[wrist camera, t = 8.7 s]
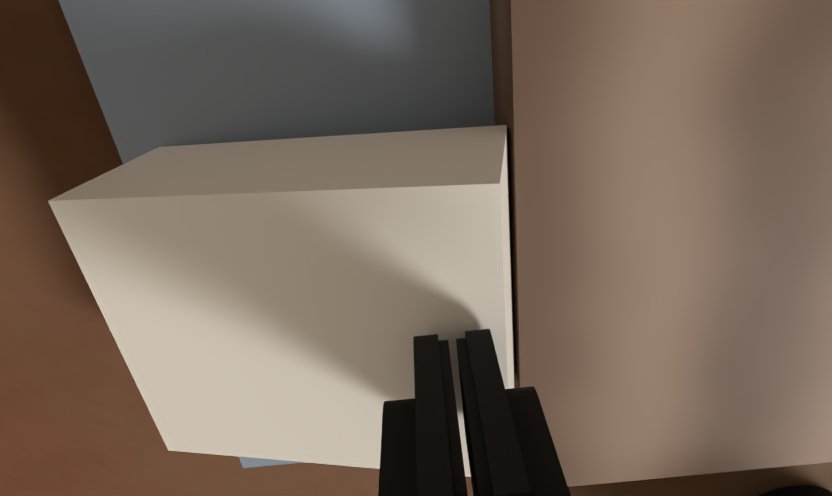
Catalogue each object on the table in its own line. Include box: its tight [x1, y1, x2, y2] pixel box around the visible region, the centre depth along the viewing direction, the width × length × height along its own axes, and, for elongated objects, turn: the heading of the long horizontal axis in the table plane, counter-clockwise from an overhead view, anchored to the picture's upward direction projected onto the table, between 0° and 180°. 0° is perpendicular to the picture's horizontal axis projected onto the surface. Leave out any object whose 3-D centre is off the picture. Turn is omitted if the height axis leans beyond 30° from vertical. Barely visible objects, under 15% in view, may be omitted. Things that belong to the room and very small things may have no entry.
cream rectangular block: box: [48, 125, 515, 477], centre depth 14 cm, size 10×8×4 cm
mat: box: [58, 0, 495, 468], centre depth 17 cm, size 11×18×1 cm, turn 6°
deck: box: [489, 0, 832, 487], centre depth 15 cm, size 14×16×4 cm
